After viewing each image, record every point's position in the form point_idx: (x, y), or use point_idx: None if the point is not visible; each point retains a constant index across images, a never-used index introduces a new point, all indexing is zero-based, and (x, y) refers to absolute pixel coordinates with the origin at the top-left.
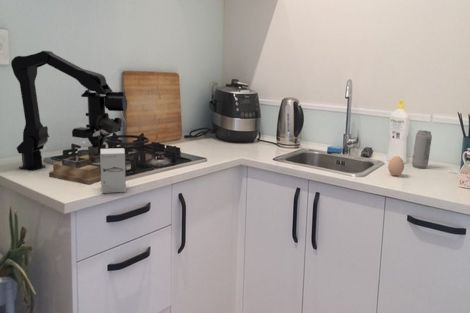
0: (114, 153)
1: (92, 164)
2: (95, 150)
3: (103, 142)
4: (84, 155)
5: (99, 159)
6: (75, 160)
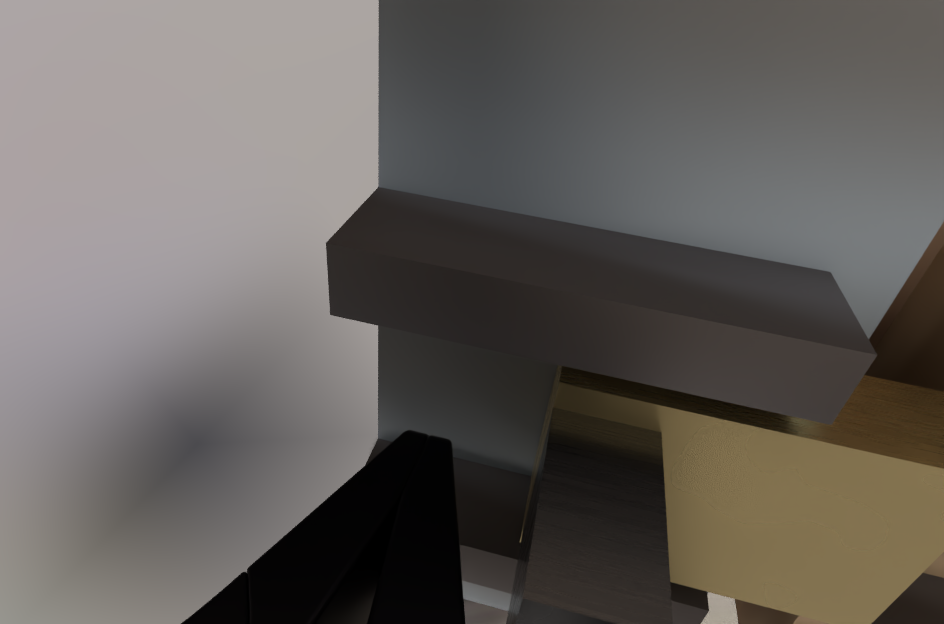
0: None
1: (875, 306)
2: (637, 539)
3: (199, 620)
4: (684, 585)
5: (709, 280)
6: None
